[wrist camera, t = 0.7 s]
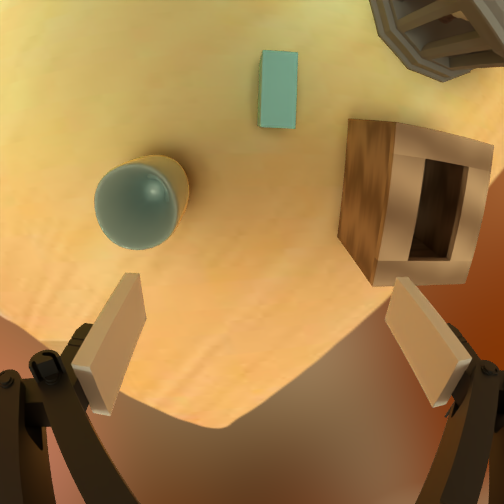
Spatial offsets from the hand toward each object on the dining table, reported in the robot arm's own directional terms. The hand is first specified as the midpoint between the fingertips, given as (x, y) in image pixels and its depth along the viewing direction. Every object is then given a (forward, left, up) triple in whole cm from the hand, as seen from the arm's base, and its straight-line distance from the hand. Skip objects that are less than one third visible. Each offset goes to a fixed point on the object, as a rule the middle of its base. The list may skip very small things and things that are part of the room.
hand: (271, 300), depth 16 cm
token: (-11, +1, -22) cm, 24 cm away
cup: (-1, -11, -22) cm, 24 cm away
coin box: (-2, +15, -22) cm, 27 cm away
